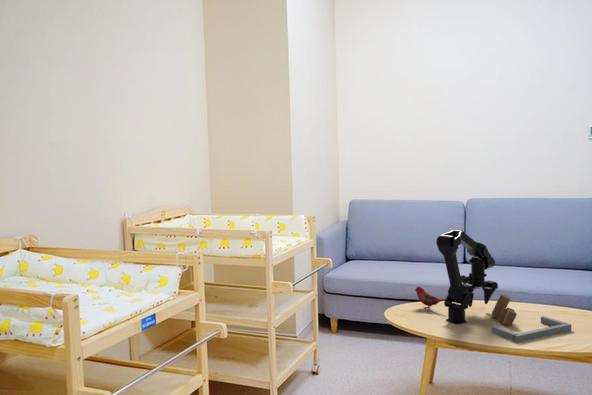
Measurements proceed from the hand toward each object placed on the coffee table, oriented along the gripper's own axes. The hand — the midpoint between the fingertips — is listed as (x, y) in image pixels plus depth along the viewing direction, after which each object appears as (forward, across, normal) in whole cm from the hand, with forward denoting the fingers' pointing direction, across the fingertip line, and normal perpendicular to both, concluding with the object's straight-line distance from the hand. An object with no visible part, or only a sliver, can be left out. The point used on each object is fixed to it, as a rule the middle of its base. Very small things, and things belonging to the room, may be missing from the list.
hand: (478, 305), depth 234 cm
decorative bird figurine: (+4, +15, -15) cm, 21 cm away
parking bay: (+4, 0, +29) cm, 30 cm away
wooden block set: (+4, -2, +13) cm, 14 cm away
